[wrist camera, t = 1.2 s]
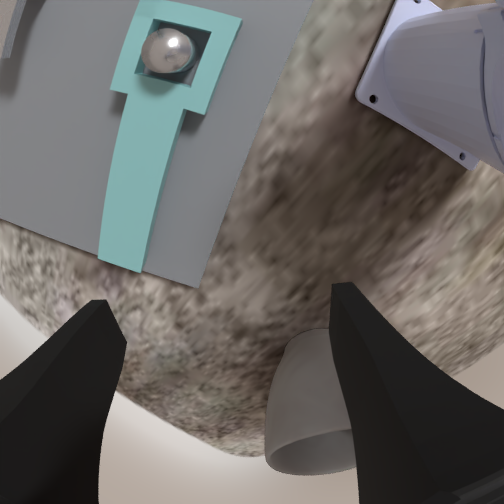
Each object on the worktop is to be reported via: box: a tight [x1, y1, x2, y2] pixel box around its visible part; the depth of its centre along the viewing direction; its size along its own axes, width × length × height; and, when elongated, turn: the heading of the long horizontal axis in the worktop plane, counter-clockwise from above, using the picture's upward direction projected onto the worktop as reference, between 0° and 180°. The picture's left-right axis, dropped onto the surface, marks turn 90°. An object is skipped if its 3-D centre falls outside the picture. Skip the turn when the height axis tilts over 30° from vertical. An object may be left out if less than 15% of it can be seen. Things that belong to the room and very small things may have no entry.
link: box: [98, 0, 243, 273], centre depth 14 cm, size 14×5×1 cm, turn 159°
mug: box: [265, 328, 356, 475], centre depth 22 cm, size 12×9×10 cm
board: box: [0, 0, 313, 288], centre depth 14 cm, size 17×20×1 cm
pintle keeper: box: [0, 0, 199, 73], centre depth 11 cm, size 12×5×4 cm, turn 69°
